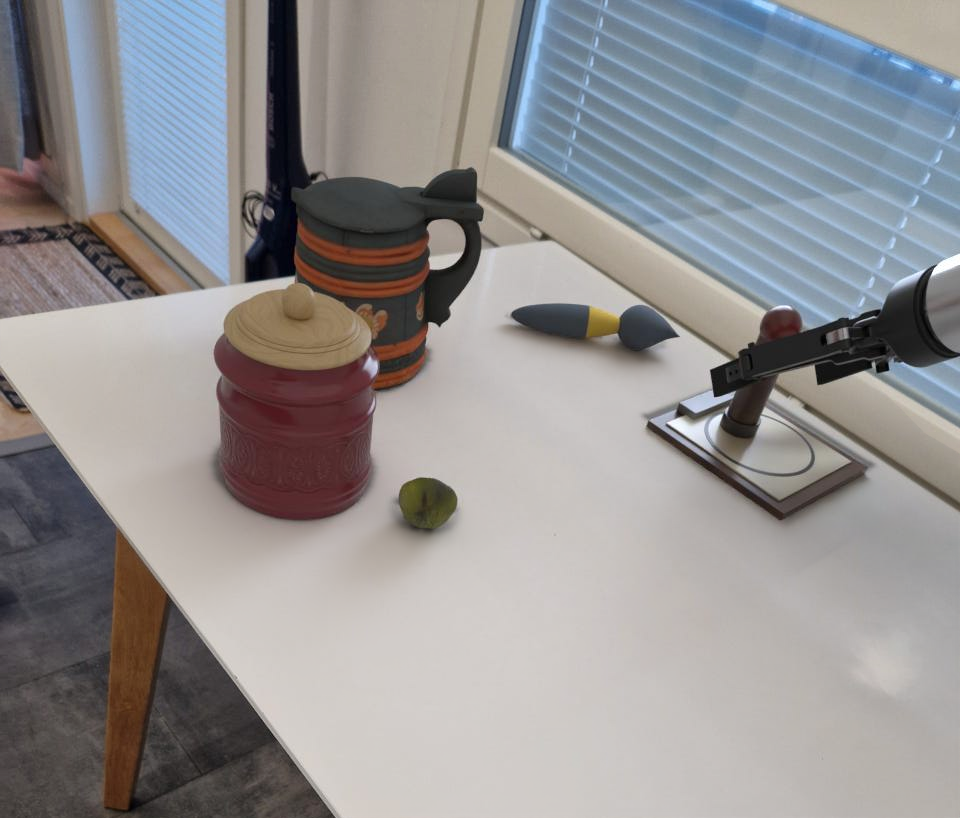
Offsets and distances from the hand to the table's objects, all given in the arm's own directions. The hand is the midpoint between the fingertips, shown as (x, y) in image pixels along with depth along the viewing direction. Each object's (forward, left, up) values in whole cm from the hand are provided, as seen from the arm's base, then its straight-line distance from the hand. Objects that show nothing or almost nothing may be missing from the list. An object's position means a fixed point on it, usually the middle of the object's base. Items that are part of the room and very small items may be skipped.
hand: (767, 377), depth 91 cm
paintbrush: (+23, 0, -8) cm, 24 cm away
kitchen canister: (+17, +45, -8) cm, 49 cm away
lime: (+6, +39, -8) cm, 40 cm away
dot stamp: (+1, 0, -6) cm, 7 cm away
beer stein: (+31, +26, -8) cm, 41 cm away
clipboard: (-2, 0, -8) cm, 8 cm away
